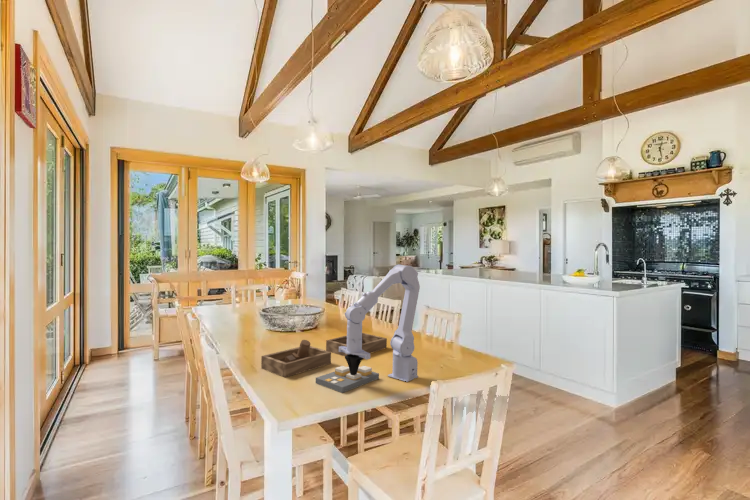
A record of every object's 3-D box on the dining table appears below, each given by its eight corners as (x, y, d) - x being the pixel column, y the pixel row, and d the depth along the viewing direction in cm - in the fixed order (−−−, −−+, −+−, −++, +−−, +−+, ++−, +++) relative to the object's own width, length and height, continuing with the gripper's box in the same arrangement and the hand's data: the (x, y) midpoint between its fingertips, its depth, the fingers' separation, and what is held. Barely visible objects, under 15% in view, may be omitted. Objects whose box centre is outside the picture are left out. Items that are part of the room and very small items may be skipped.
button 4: (349, 374, 154) (349, 368, 153) (342, 377, 150) (342, 370, 150) (342, 372, 156) (342, 365, 156) (334, 374, 153) (335, 368, 153)
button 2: (361, 380, 150) (361, 374, 150) (353, 383, 147) (353, 376, 147) (353, 378, 152) (353, 371, 152) (346, 380, 149) (346, 374, 149)
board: (378, 378, 154) (378, 372, 154) (342, 393, 139) (342, 386, 139) (352, 370, 164) (352, 365, 163) (315, 383, 148) (315, 377, 148)
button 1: (371, 374, 154) (371, 367, 154) (364, 376, 151) (364, 370, 151) (363, 371, 157) (364, 365, 157) (357, 374, 154) (357, 367, 154)
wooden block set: (288, 379, 159) (294, 358, 155) (275, 366, 163) (281, 345, 160) (321, 366, 173) (327, 347, 170) (308, 355, 177) (314, 336, 174)
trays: (386, 348, 198) (386, 338, 198) (288, 378, 152) (288, 365, 152) (359, 341, 210) (360, 332, 210) (261, 368, 164) (261, 356, 164)
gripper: (333, 336, 151) (332, 372, 151) (361, 343, 141) (360, 381, 142) (346, 333, 156) (345, 368, 156) (374, 340, 147) (373, 376, 147)
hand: (353, 374), depth 149 cm, fingers closed, pressing on button 2
